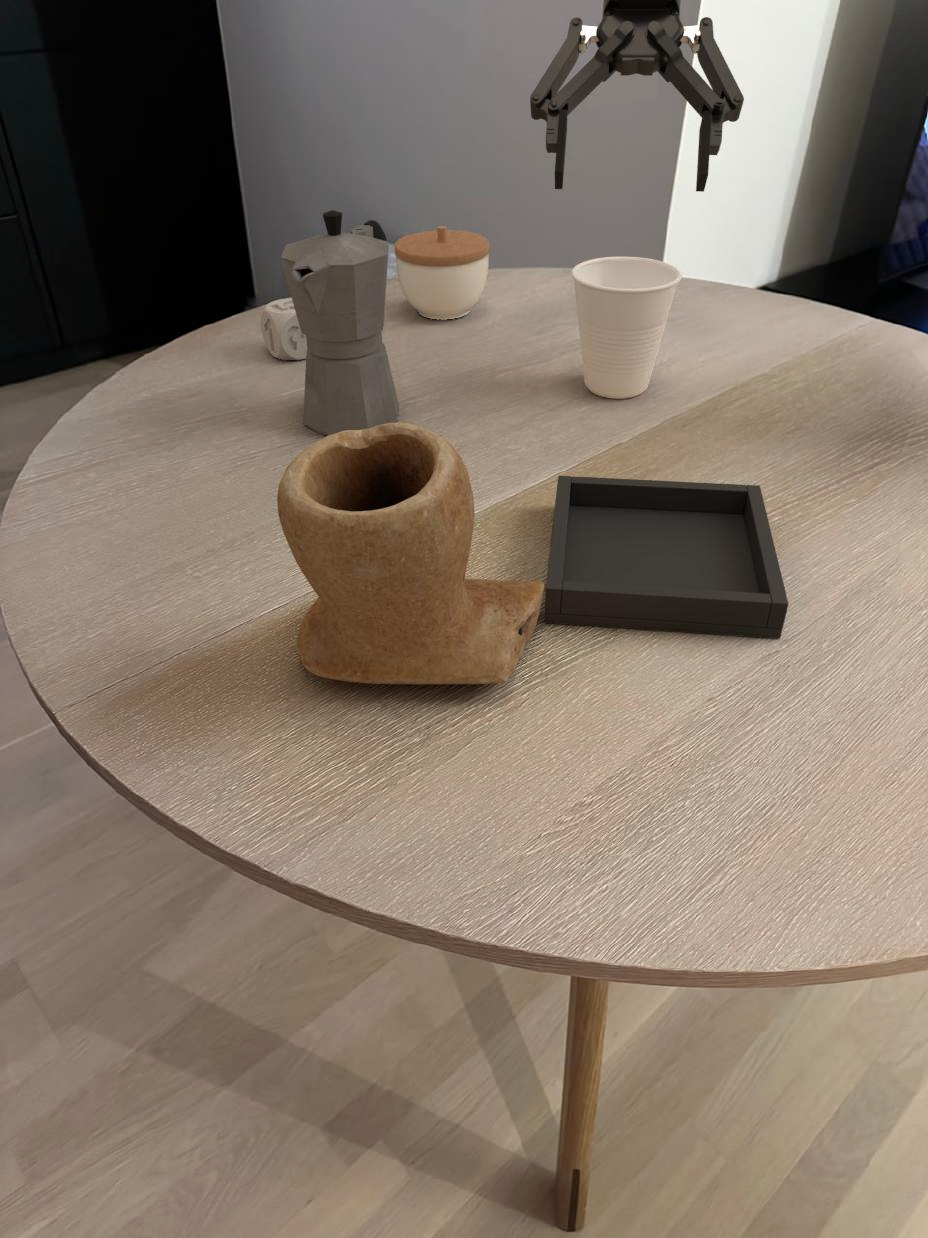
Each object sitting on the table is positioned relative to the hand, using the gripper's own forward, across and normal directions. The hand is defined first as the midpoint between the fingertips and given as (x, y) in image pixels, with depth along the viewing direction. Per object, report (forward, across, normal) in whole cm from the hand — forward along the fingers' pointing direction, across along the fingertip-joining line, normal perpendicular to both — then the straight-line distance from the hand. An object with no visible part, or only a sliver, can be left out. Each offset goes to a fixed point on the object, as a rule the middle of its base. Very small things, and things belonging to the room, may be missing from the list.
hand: (629, 182), depth 89 cm
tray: (+41, -3, +18) cm, 45 cm away
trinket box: (+5, +20, -18) cm, 27 cm away
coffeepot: (+25, +24, +2) cm, 34 cm away
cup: (+19, 0, -4) cm, 20 cm away
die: (+15, +34, -8) cm, 38 cm away
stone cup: (+50, +12, +26) cm, 57 cm away
